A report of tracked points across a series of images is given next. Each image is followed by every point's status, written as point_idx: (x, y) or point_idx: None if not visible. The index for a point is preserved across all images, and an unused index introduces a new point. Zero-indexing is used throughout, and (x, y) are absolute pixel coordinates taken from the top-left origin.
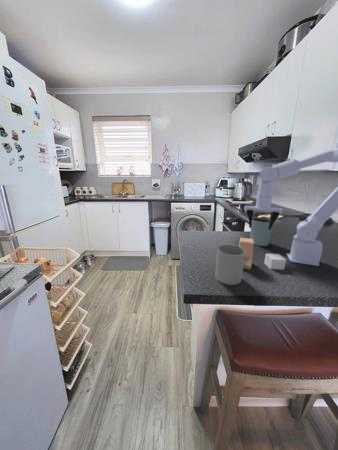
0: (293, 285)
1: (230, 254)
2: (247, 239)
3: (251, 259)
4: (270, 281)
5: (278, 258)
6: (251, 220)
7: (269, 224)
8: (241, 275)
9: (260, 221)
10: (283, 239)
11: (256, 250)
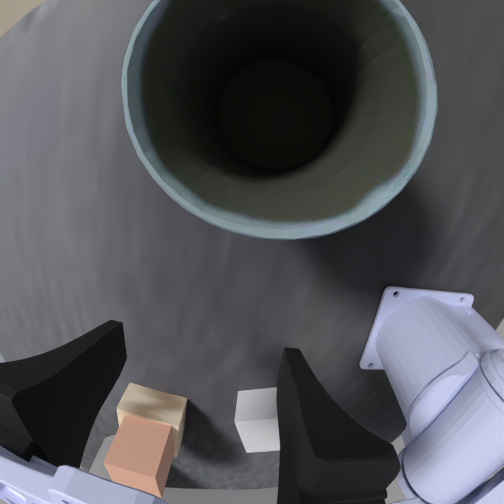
0: None
1: (110, 478)
2: (134, 478)
3: (174, 454)
4: (230, 464)
5: (274, 445)
6: (93, 414)
7: (284, 397)
8: None
9: None
10: (453, 28)
11: (230, 268)
